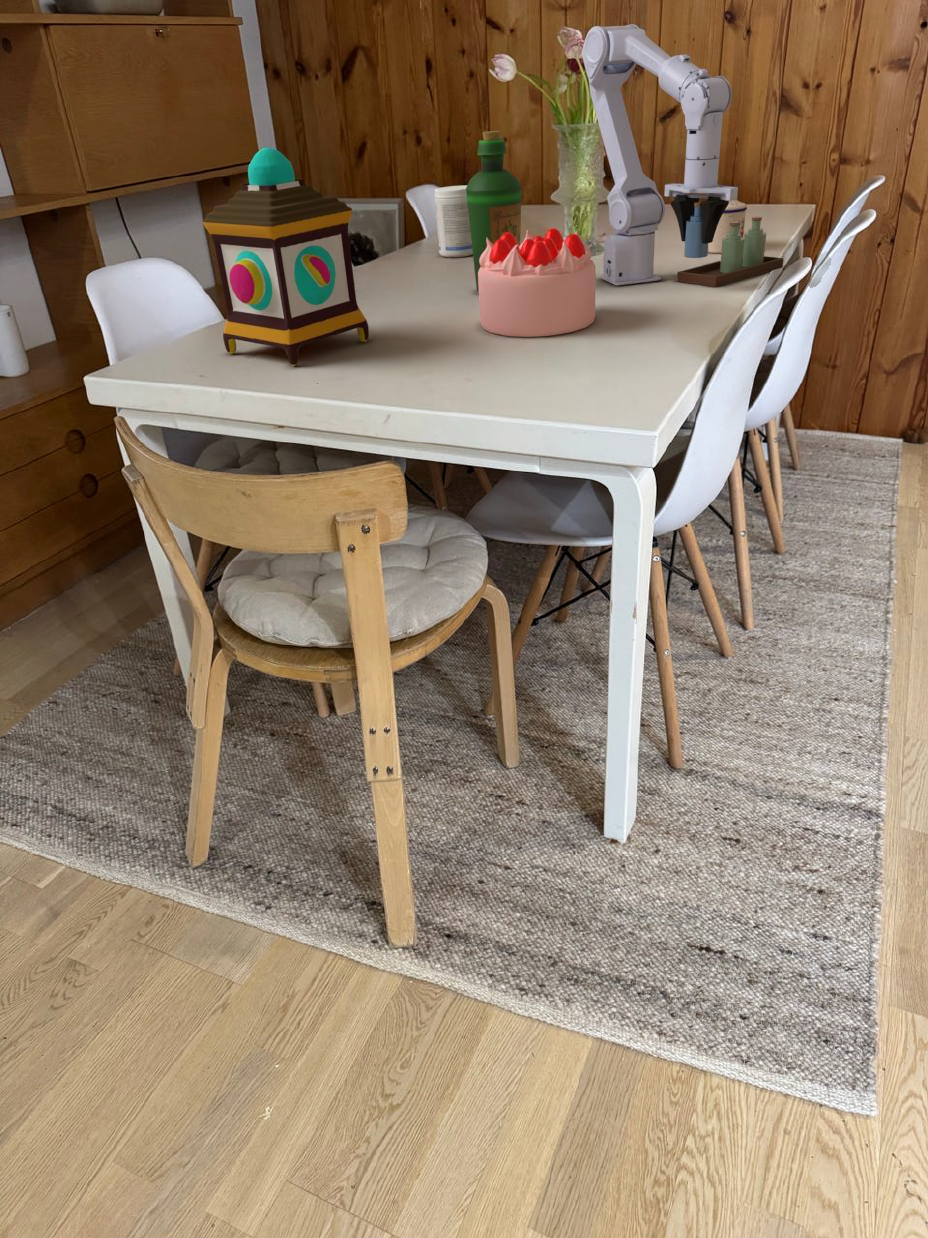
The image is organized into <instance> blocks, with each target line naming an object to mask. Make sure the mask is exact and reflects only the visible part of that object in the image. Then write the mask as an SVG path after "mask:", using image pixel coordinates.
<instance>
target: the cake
mask: <svg viewBox="0 0 928 1238" xmlns="http://www.w3.org/2000/svg"><path fill="white" fill-rule="evenodd" d="M486 242H487V248H486V249H485V251H484V252H483V253H482V255H481V256H480V259H479V262H480V265H481V267H480V269H479V271H478V286H479V292H478V302H479V303H478V304H479V319H480V326H481V328H482V329H484V330H485V331H487V332H489V333H491V334H495V335H500V336H506V337H524V338H526V337H527V338H531V337H533V338H534V337H548V336H556V335H557V336H558V335H563V334H567V333H568V334H569V333H572V332H576V331H579V330H583V329H585V328H587V327H589V326H590V325H592V324H593V322H594V321H595V318H596V277H597V275H596V274H597V272H596V269H597V268H596V264H595V262H594V260H592V252H591V249H590V247H588V246H587V244H586V243H585V242H584V240H583V238H581V236H580V234H579V233H578V230H576V231H575V232H574V233H570V234H568V235H567V236H566V238H565V239H564V237H563V235H562V233H561V231H560V230H559V229H557V228H555V227H551V228H549V229H548V230H547V231H546V232H545V234H544V236H542V235H535V236H534V237H533V236H532V234H531V232H530V230H529V229H526V234H525V238H524V240H523V241H522V242H521V243H520V246H519V245H518V243H517V241H516V239H515V237H514V236H513V234H512V233H510V232H505V233H503V234H502V235H501V237H500V239H498V240H497V241H496V242H495V243H494V245H493V244H492V243H491V242H490V241H489V240H488V238H487V239H486Z"/></svg>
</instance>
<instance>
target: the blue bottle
mask: <svg viewBox="0 0 928 1238" xmlns="http://www.w3.org/2000/svg"><path fill="white" fill-rule="evenodd" d="M700 202H701V201H699V202H694V206H695V209H694V215H692V216H691V217H690V220H687V221H686V234H685V241H684V250H683V251H684V252H683V256H684V258H687V259H701V258H706V257H708V256H709V252H708V245H709V243H707V244H702V225H703V223H702V213H701V207H700Z"/></svg>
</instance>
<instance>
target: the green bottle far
mask: <svg viewBox="0 0 928 1238" xmlns="http://www.w3.org/2000/svg"><path fill="white" fill-rule="evenodd" d="M762 220H763V216H759V215H755V216H752V217H751V228H748V229H747V232H744V235H743V238H745V241H744V252H743V263H742V266H743V267H751V266H754V265H758V264H761V263H763V262H764V256H765V252H766V242H767V232H765V231H764V228H762V227H761V223H762Z"/></svg>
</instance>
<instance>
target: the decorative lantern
mask: <svg viewBox="0 0 928 1238" xmlns="http://www.w3.org/2000/svg"><path fill="white" fill-rule="evenodd" d="M247 176H248V183H243V184H240V187H241V188H240V190H238V191H236V192H235V194H234V196H233V197H231V198H229V199H228V200H227V203H224V204H219V205H215V206H214V207H213V210H212V211H210V212H208V213H207V215H206V217H205V218H204V219H203V220H202V224H203V226H204V228H205V229H206V231H207V232H208V234H209V235H210V236H211V238H212V241H213V246H214V251H215V257H216V262H217V266H218V272H219V278H220V282H221V287H222V293H223V298H224V302H225V308H226V314H227V317H226V321H225V325H224V328H223V332H222V338H223V344H224V347H225V350H226V352H227V353H229V354H230V355H234V354H235V353H236V351H237V341H242V342H248V343H253V344H258V345H264V346H270V347H275V348H281V349H282V350H284V351H285V353H286V356H287V359H288V362H289V364H290V365H291V366H292V367H296V366H298V363H299V350H300V348H302V347H303V346H306V345H309V344H313V343H316V342H318V341H322V340H325V339H327V338H331V337H334V336H337V335H341V334H343V333H346V332H349V331H352V330H355V329H356V331H357V335H358V339H359V341H360V342H362V343H366V342H368V340H369V336H370V330H369V323H368V320H367V319H366V317H365V315H364V314H363V312H362V310H361V308H360V307H359V305H358V302H357V295H356V286H355V278H354V277H355V276H354V268H353V264H352V262H353V260H352V254H351V253H352V251H351V245H350V238H349V236H350V235H349V224H350V221H351V218H352V214H353V208H352V207H350V206H349V205H347V203H346V202H344V201H340V200H339V199H338V197H337V196H334V195H323V194H322V192H321V191H317V190H315V189H314V188H313V187H312V186H311V185H307V184H306V183H305V179H296V176H295V171H294V168H293V165H292V162H291V161H290V160H289V159H288V158H287V157H286V156H285V155H284V154H283V153H282V152H281V151H279V150H277V149H276V148H274V147H269V146H267V147H264V148H261V149H260V150H258V151H257V152H256V153H255V154H254V156H253V158H252V160H250V163H249V164H248V167H247ZM236 340H237V341H236Z"/></svg>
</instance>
